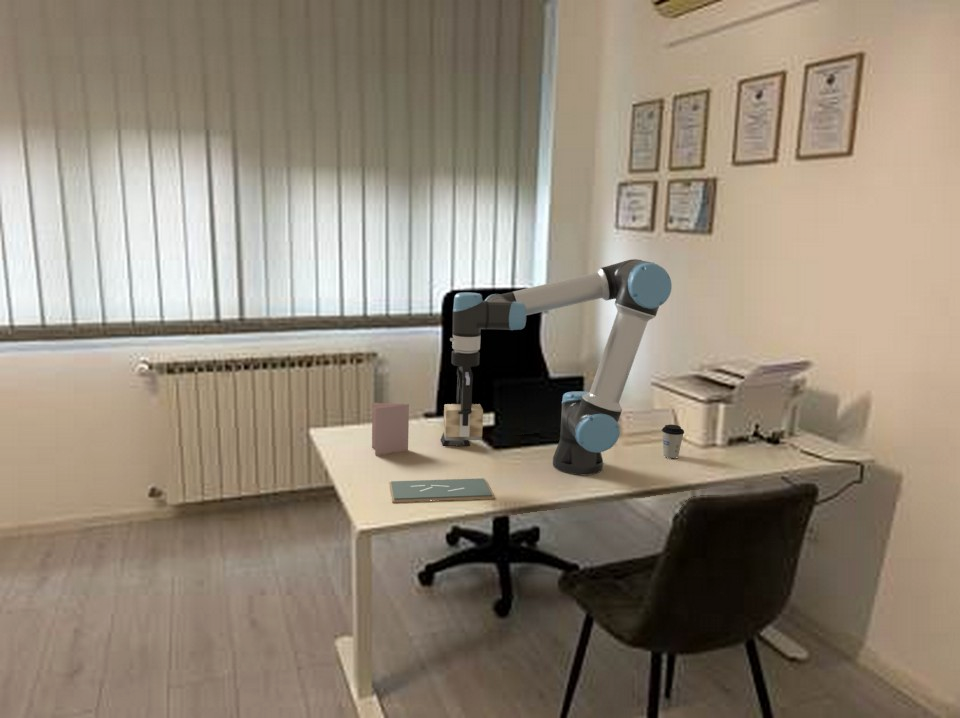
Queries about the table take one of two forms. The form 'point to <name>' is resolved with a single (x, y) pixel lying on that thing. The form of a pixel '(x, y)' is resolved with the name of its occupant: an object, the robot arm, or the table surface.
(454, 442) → the phone stand
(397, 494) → the chalkboard
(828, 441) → the table surface
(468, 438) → the eraser block
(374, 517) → the table surface
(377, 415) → the greeting card
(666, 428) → the coffee cup
